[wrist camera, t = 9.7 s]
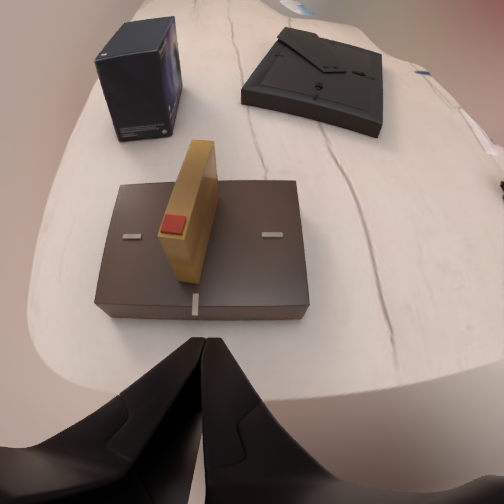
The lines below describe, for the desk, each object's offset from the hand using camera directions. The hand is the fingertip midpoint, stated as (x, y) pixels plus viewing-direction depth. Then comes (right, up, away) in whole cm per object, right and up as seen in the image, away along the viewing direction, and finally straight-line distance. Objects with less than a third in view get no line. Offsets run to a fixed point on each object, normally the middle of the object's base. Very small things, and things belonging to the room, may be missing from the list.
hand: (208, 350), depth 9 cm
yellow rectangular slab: (-2, +4, +13) cm, 14 cm away
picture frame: (+11, +26, +29) cm, 40 cm away
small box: (-10, +19, +25) cm, 33 cm away
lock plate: (-2, +2, +16) cm, 16 cm away
